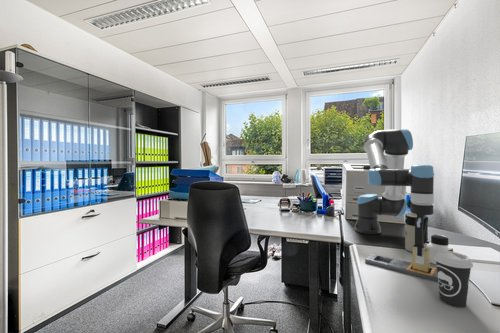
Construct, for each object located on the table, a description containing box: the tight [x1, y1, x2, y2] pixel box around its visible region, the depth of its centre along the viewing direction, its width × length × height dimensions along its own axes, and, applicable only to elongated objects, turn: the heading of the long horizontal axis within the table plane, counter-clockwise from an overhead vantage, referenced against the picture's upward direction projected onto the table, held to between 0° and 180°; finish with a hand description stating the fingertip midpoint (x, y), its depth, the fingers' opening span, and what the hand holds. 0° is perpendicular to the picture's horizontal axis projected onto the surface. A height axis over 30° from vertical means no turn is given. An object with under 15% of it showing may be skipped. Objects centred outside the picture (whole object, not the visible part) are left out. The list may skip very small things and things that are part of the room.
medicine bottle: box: [427, 234, 454, 265], centre depth 108 cm, size 7×7×12 cm
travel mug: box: [404, 212, 417, 253], centre depth 123 cm, size 8×8×18 cm
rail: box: [364, 252, 438, 283], centre depth 103 cm, size 9×26×2 cm, turn 46°
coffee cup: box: [434, 251, 474, 308], centre depth 79 cm, size 10×10×15 cm
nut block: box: [412, 247, 431, 274], centre depth 98 cm, size 5×5×8 cm
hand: (421, 261), depth 98 cm, fingers closed on nut block, 5 cm apart
